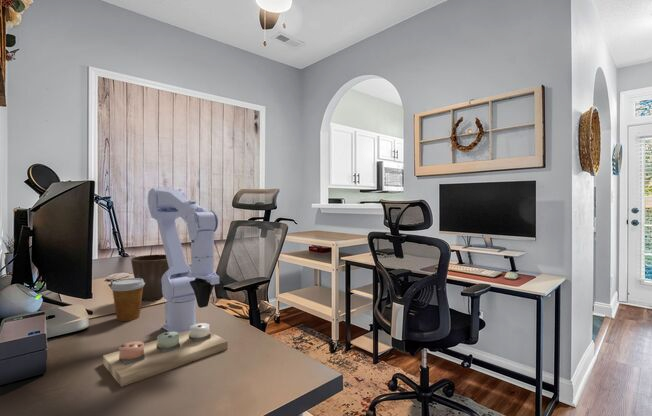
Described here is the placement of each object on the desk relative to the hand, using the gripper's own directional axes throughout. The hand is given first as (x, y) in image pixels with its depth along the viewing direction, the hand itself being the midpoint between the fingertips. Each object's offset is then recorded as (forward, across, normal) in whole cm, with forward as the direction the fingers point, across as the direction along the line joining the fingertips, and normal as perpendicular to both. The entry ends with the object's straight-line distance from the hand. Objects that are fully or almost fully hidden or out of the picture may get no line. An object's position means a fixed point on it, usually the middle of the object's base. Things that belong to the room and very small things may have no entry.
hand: (203, 306), depth 89 cm
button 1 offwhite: (+6, +2, -2) cm, 7 cm away
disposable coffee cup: (+10, -35, -9) cm, 37 cm away
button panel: (+10, +2, -10) cm, 14 cm away
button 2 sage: (+6, +2, -10) cm, 12 cm away
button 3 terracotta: (+6, +2, -18) cm, 19 cm away
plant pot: (+10, -53, +5) cm, 54 cm away
